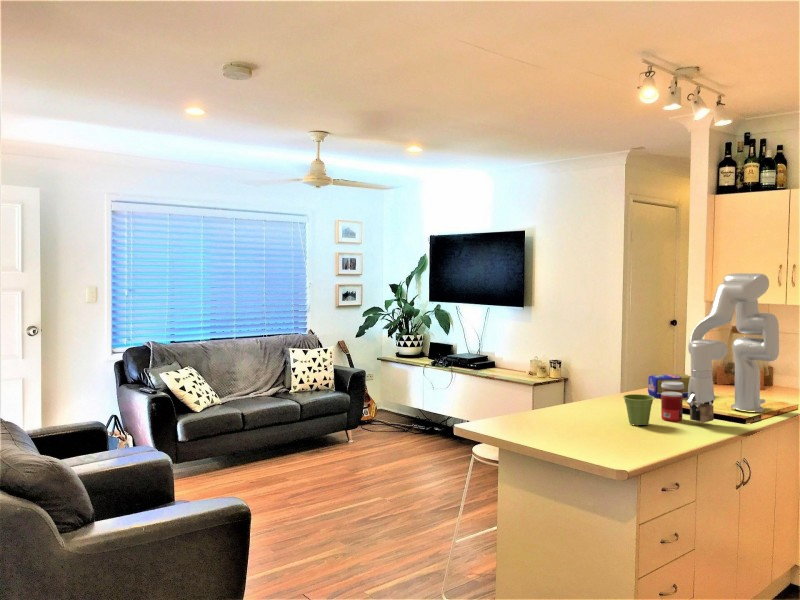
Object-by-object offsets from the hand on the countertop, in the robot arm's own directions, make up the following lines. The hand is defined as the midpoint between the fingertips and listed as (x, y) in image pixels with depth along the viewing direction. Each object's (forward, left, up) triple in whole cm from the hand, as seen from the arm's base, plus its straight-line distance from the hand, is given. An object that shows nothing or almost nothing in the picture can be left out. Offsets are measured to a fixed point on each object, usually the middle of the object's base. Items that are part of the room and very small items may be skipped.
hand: (701, 418), depth 251 cm
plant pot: (+20, -14, -3) cm, 24 cm away
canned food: (+3, -12, -3) cm, 13 cm away
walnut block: (0, 0, -1) cm, 1 cm away
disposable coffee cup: (-11, -23, -3) cm, 26 cm away
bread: (-35, -41, -3) cm, 54 cm away
